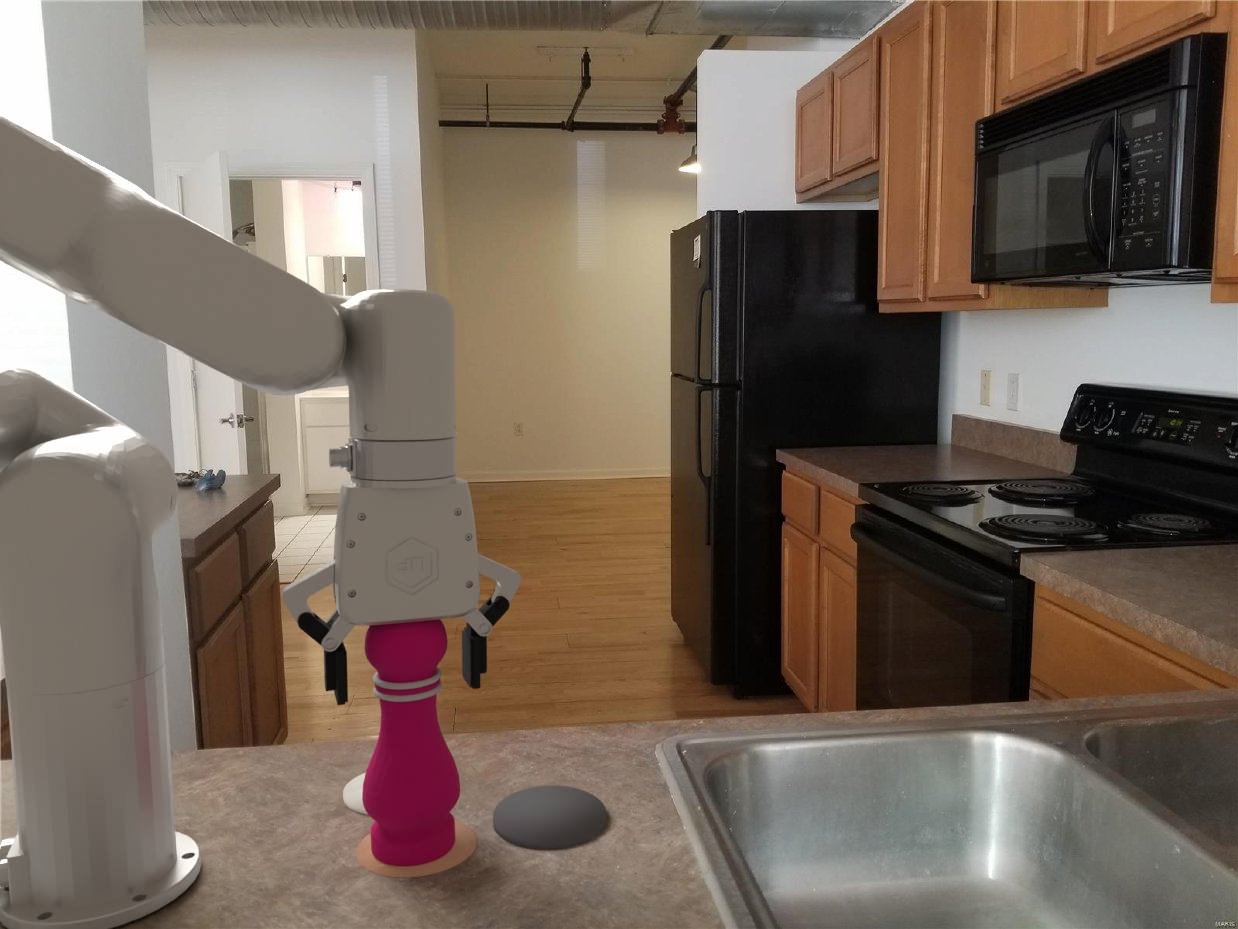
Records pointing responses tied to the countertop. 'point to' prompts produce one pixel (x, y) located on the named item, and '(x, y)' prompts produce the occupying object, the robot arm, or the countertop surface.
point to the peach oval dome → (455, 856)
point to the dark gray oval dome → (549, 817)
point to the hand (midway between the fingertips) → (407, 691)
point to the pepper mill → (409, 747)
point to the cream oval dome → (355, 794)
